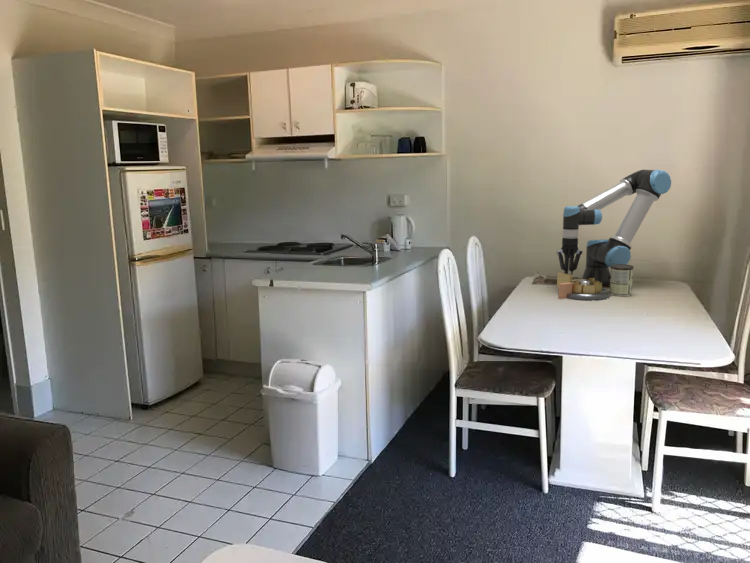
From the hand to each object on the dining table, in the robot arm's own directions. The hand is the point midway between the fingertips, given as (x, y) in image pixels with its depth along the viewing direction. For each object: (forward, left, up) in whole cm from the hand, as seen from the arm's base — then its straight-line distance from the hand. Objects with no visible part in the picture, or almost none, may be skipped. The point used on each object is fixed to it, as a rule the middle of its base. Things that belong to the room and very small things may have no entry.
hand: (568, 283), depth 315 cm
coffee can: (-22, +11, -4) cm, 25 cm away
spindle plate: (-4, +11, -4) cm, 12 cm away
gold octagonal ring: (-2, +8, -1) cm, 9 cm away
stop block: (+7, +16, -4) cm, 17 cm away
